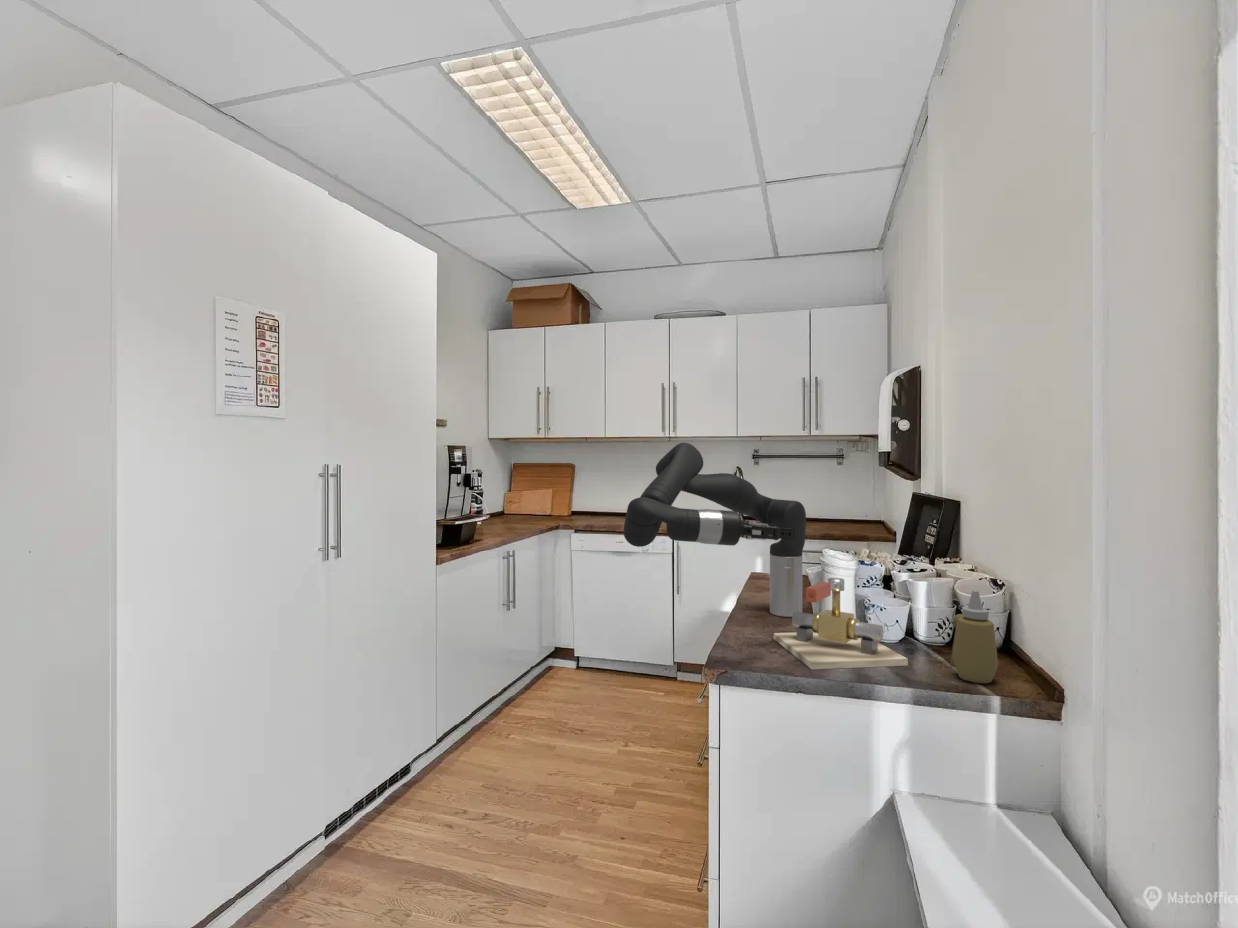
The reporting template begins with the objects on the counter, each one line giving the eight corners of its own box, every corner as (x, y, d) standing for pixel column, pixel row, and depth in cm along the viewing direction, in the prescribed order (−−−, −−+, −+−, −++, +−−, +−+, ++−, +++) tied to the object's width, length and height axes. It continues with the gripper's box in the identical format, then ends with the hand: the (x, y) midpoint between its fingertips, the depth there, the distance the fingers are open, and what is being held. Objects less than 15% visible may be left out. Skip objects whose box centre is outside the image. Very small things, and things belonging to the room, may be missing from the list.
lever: (831, 587, 142) (831, 575, 142) (846, 589, 140) (846, 577, 140) (802, 600, 128) (802, 587, 128) (819, 603, 126) (819, 589, 126)
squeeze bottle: (990, 674, 125) (991, 588, 125) (1004, 688, 117) (1004, 597, 117) (947, 670, 127) (948, 586, 127) (958, 684, 119) (958, 594, 119)
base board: (773, 638, 150) (773, 633, 150) (856, 636, 152) (856, 630, 152) (811, 669, 128) (811, 662, 128) (907, 665, 130) (907, 658, 130)
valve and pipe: (790, 639, 144) (790, 586, 144) (799, 634, 148) (799, 582, 148) (877, 656, 131) (877, 598, 131) (884, 650, 136) (884, 593, 136)
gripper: (728, 512, 122) (801, 517, 125) (706, 507, 137) (772, 512, 139) (725, 548, 122) (798, 553, 125) (703, 540, 136) (770, 544, 139)
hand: (785, 531), depth 132 cm, fingers open, 8 cm apart
